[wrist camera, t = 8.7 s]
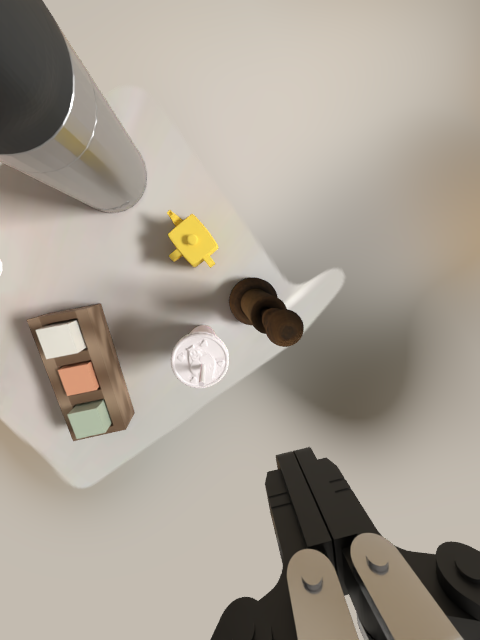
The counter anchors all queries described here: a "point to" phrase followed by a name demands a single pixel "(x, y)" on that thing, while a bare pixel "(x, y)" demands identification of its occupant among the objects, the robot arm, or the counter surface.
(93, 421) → the sage key
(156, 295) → the counter surface
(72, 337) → the offwhite key
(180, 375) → the smoothie
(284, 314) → the mortar and pestle
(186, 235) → the teapot
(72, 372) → the terracotta key
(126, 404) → the key panel
